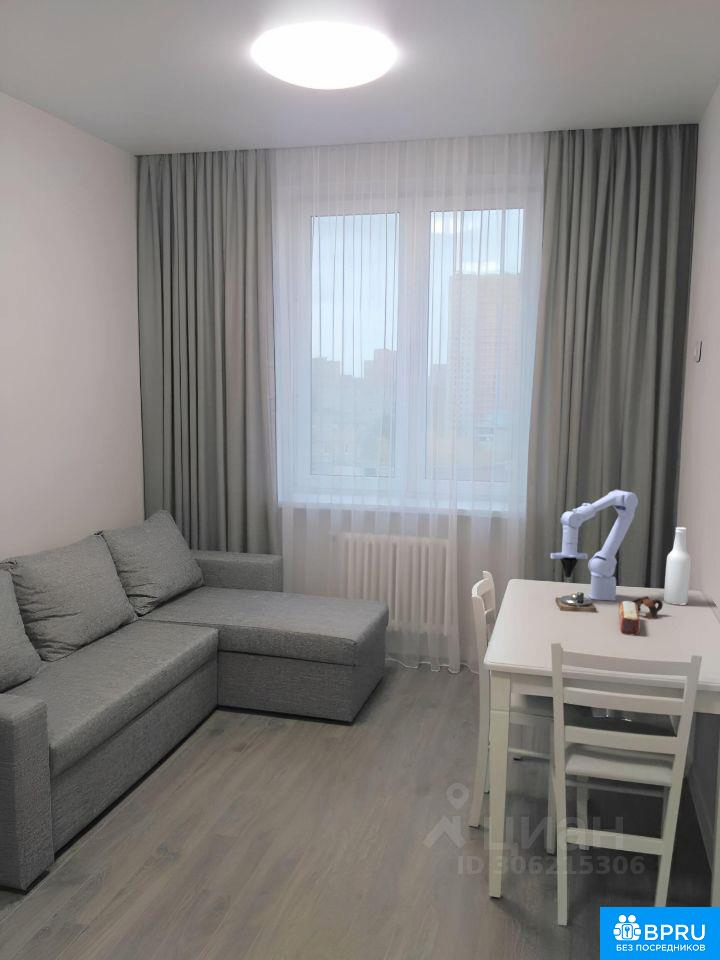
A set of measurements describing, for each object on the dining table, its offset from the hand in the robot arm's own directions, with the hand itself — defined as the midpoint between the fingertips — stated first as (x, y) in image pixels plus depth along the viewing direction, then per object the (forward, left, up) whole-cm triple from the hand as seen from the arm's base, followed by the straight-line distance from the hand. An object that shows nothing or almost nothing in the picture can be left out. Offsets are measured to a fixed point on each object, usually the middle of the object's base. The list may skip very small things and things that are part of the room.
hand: (567, 576), depth 301 cm
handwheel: (-2, +9, -8) cm, 12 cm away
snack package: (-17, +31, -10) cm, 37 cm away
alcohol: (-43, -6, -10) cm, 44 cm away
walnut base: (-2, +9, -9) cm, 13 cm away
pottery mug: (-27, +15, -10) cm, 32 cm away
